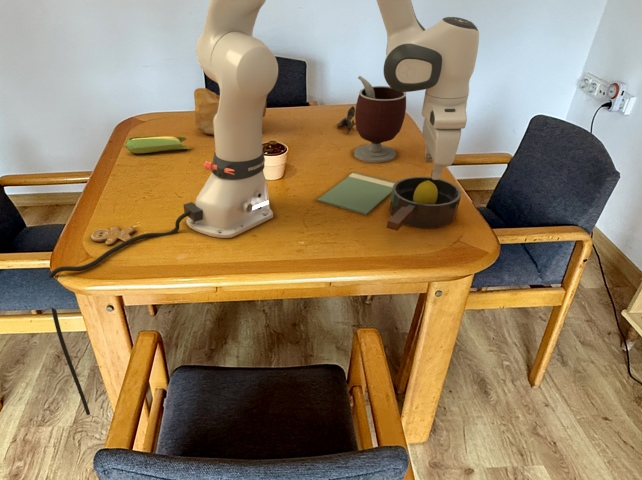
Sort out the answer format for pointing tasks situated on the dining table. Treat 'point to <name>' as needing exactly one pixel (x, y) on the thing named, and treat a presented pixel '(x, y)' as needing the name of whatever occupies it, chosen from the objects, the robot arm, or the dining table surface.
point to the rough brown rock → (207, 109)
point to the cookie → (112, 235)
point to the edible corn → (154, 144)
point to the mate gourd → (378, 120)
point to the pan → (425, 213)
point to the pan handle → (400, 217)
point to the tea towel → (358, 193)
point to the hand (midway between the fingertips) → (431, 169)
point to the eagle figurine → (348, 120)
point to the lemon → (426, 193)
